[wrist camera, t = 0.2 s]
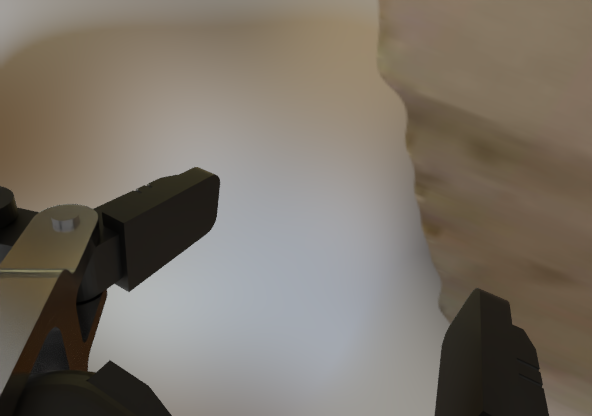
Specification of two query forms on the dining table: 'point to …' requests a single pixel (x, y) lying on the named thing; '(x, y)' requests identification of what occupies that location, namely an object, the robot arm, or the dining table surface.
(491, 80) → the dining table surface
